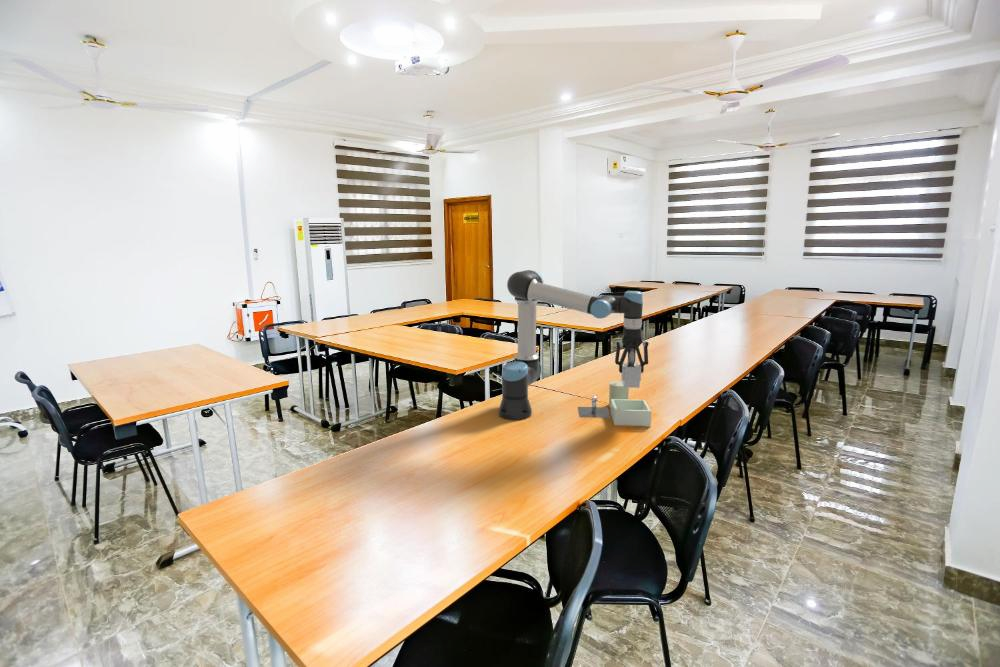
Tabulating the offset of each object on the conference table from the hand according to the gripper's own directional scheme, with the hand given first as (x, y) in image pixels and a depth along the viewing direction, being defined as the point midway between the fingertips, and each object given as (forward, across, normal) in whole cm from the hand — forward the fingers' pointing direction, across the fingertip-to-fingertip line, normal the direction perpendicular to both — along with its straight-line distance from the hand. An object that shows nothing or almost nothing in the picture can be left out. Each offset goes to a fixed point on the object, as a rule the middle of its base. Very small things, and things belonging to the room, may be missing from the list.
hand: (630, 379), depth 215 cm
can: (+19, -2, +17) cm, 25 cm away
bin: (+18, 0, 0) cm, 18 cm away
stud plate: (+18, -15, +8) cm, 25 cm away
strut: (+3, 0, 0) cm, 3 cm away
